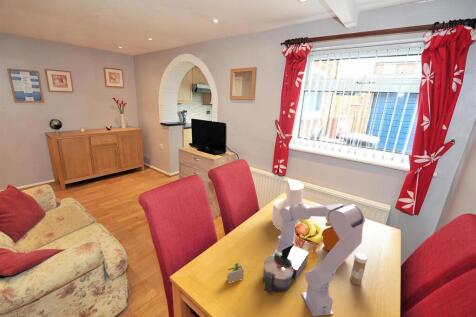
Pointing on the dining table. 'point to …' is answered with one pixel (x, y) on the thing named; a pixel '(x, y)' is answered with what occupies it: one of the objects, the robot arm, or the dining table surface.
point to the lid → (279, 266)
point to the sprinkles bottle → (358, 268)
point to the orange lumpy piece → (329, 237)
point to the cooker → (298, 262)
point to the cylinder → (288, 201)
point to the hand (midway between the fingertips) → (284, 257)
